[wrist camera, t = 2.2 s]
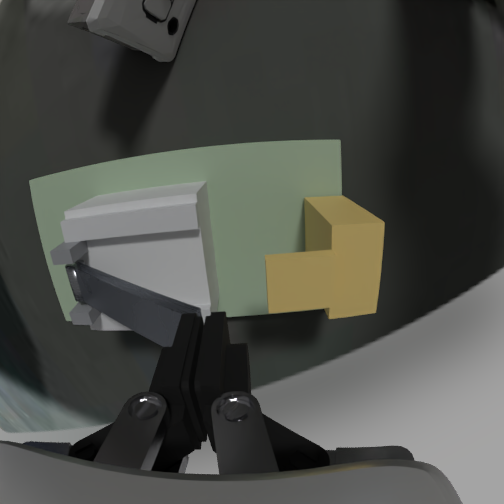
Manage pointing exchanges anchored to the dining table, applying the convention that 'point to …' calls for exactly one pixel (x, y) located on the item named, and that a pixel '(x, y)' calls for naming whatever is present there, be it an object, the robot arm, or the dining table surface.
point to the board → (184, 221)
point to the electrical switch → (136, 23)
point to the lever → (128, 303)
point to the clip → (330, 262)
